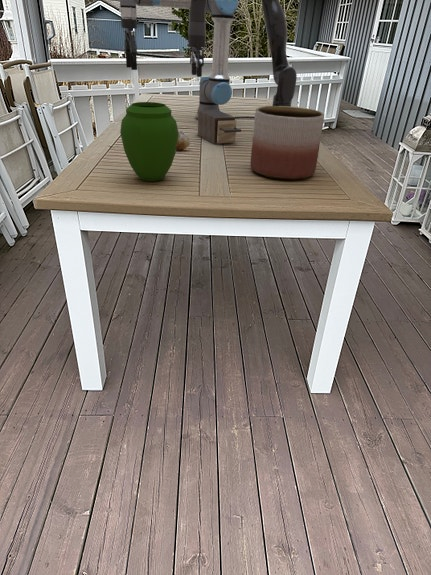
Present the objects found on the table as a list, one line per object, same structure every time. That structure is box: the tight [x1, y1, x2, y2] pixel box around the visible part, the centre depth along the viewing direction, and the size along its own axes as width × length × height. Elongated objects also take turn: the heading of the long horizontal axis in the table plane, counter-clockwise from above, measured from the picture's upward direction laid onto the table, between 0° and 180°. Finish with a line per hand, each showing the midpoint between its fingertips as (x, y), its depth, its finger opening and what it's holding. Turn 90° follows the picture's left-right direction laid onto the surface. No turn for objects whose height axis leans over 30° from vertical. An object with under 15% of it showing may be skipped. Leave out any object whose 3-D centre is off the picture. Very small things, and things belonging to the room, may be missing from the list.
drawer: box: [216, 119, 242, 144], centre depth 197 cm, size 25×9×10 cm, turn 25°
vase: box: [119, 101, 179, 182], centre depth 140 cm, size 20×20×24 cm
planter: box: [249, 105, 325, 181], centre depth 155 cm, size 25×25×22 cm
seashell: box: [176, 130, 191, 151], centre depth 180 cm, size 10×6×8 cm, turn 97°
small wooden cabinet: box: [197, 109, 236, 145], centre depth 202 cm, size 20×10×12 cm, turn 25°
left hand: (131, 68), depth 208 cm, fingers open, 13 cm apart
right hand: (196, 75), depth 187 cm, fingers open, 8 cm apart
